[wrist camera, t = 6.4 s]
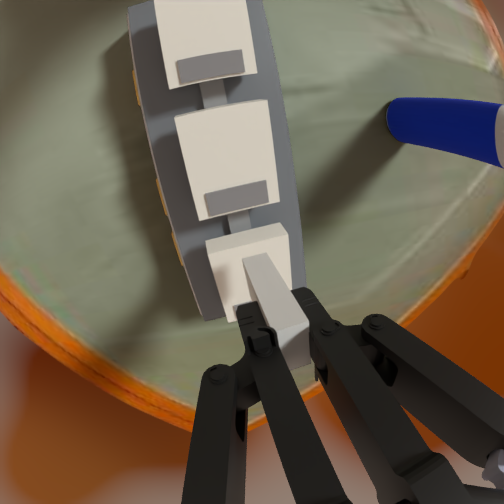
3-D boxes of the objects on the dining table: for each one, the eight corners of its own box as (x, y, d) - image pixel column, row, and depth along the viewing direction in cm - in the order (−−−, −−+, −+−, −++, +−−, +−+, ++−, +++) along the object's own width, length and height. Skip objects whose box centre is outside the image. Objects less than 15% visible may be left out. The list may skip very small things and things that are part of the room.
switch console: (131, 25, 15) (120, 6, 11) (247, 4, 16) (259, -18, 12) (198, 298, 28) (200, 326, 24) (293, 273, 29) (309, 296, 25)
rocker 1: (156, 5, 12) (152, -5, 10) (235, -8, 12) (243, -18, 10) (170, 89, 16) (169, 89, 14) (249, 74, 16) (258, 73, 14)
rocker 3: (204, 237, 20) (207, 255, 18) (277, 219, 20) (288, 235, 18) (223, 303, 24) (228, 324, 22) (284, 287, 24) (293, 305, 23)
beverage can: (417, 140, 25) (525, 170, 12) (385, 143, 25) (504, 174, 12) (412, 98, 23) (524, 110, 10) (380, 97, 23) (503, 102, 9)
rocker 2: (175, 115, 16) (174, 118, 14) (257, 99, 16) (268, 100, 14) (197, 207, 20) (199, 221, 18) (270, 190, 20) (280, 202, 18)
